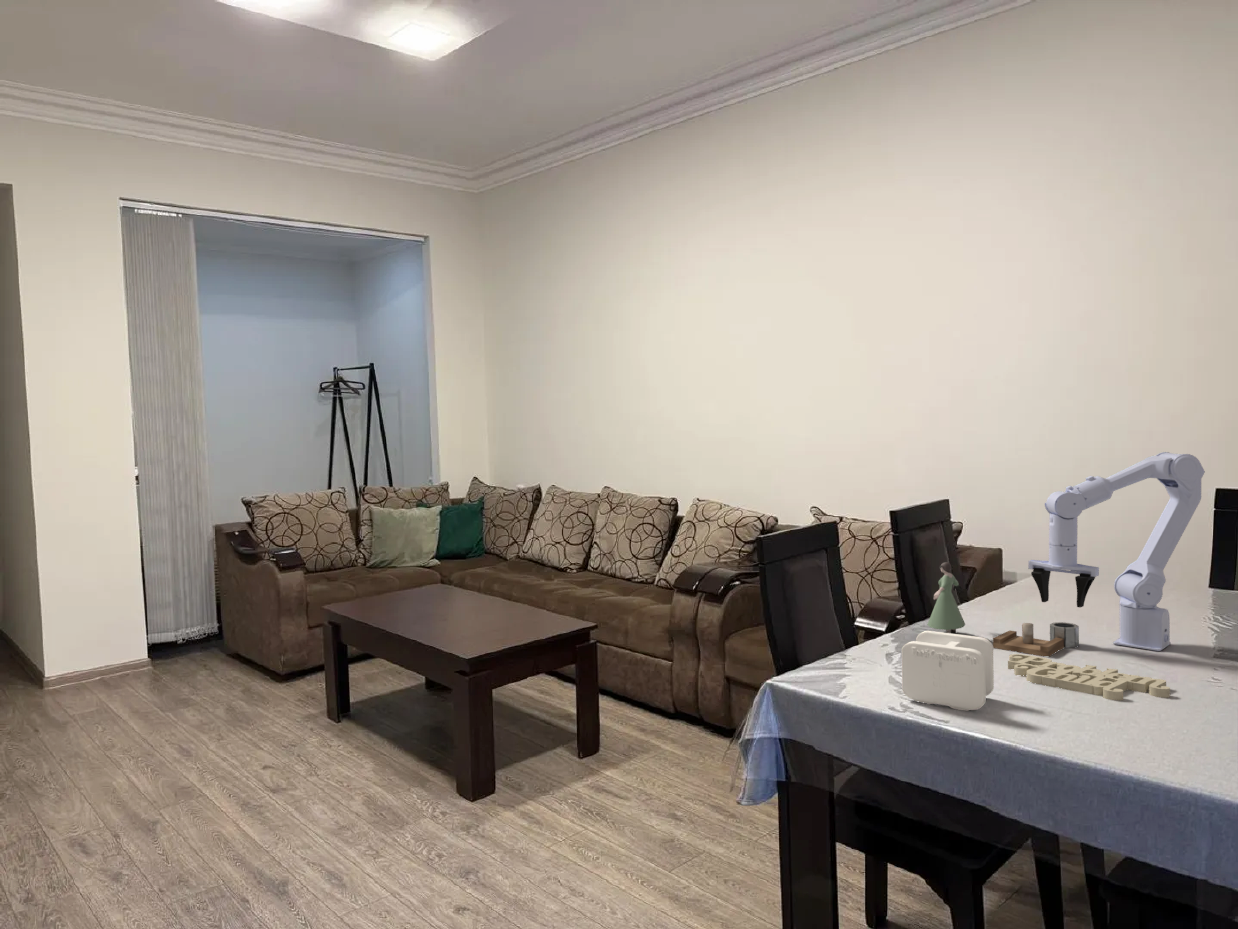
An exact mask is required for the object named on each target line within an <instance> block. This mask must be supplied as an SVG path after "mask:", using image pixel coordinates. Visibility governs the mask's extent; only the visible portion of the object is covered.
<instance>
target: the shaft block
mask: <svg viewBox="0 0 1238 929" xmlns="http://www.w3.org/2000/svg"><path fill="white" fill-rule="evenodd" d="M1021 630H1022V632H1021V636H1020V635H1017V634H1018V633H1017V632H1018V631H1015V630H1008V631H1006V632H1005V631H1004V632H1003V633H1001V634H999V635H997V636H995V637H993V638H992V645H993V649H997V650H1004V651H1009V650H1011V651H1010V652H1015V651H1017V652H1016V653H1021V652H1023V653H1022V654H1027V653H1028V654H1027V655H1032V654H1033V655H1032V656H1037V657H1044V656H1049V657H1051V656H1053V655H1054V653H1055V652H1056V653H1058V652H1059V651H1058V650H1060V651H1062V650H1063V648H1064V639H1062V638H1055V639H1053V640H1051V641H1050V640H1046V639H1041V638H1035V637H1034V623H1031V622H1023V623H1022V625H1021ZM1061 649H1062V650H1061ZM1064 649H1065V648H1064ZM1057 651H1058V652H1057ZM1056 653H1055V654H1056ZM1052 654H1053V655H1052Z"/></svg>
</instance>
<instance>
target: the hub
mask: <svg viewBox="0 0 1238 929" xmlns="http://www.w3.org/2000/svg"><path fill="white" fill-rule="evenodd" d="M1055 638H1062V639H1064V649H1075V647H1076V648H1078V647H1079V646H1080V627H1079V625H1078V624H1075V623H1072V622H1065V621H1063V622H1062V621H1059V622H1056V621H1055V622H1052V623H1050V624H1049V641H1051V640H1053V639H1055ZM1077 646H1078V647H1077Z"/></svg>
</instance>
